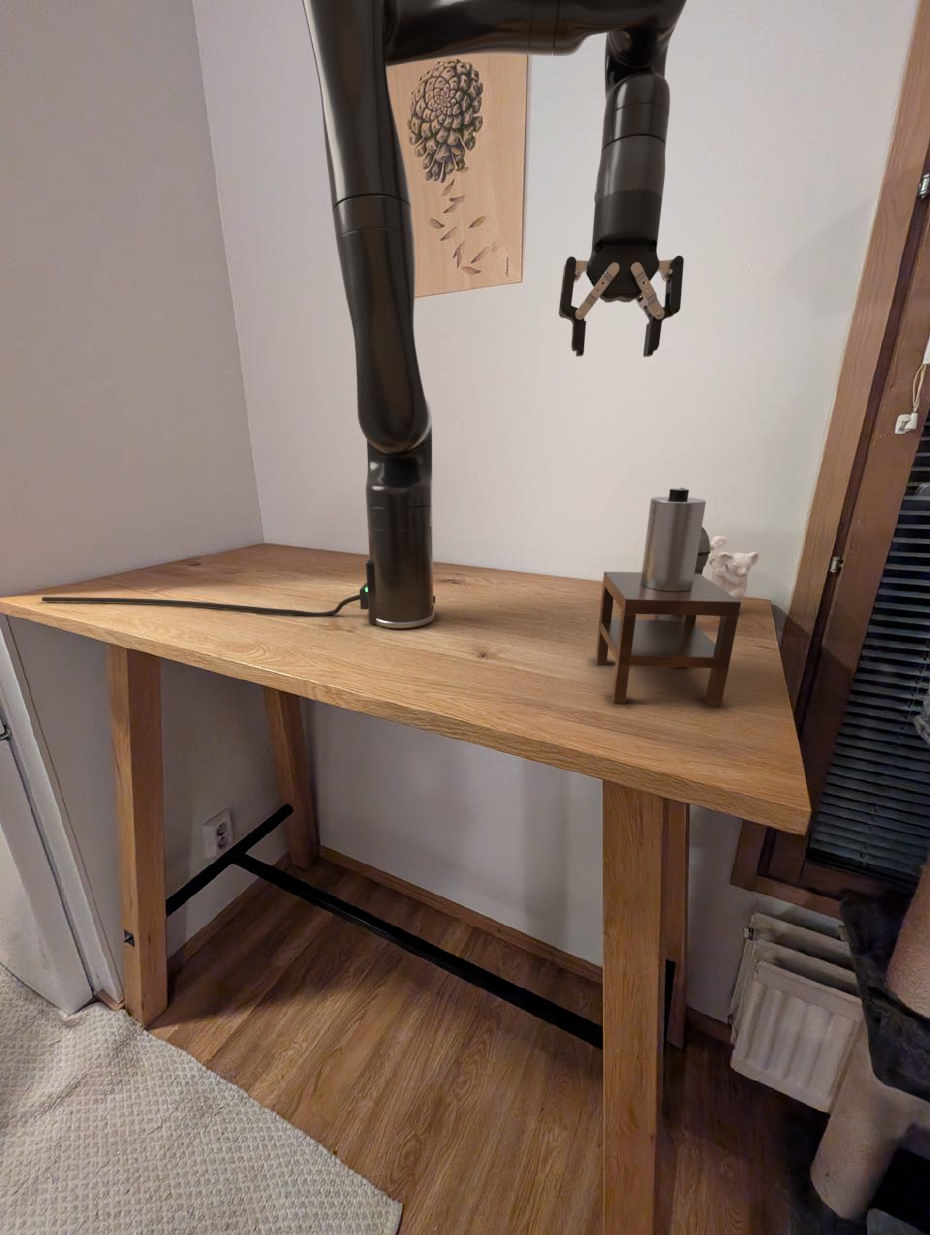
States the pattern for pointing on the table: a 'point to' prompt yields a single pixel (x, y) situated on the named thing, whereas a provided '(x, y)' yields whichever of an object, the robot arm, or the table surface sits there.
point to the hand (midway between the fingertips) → (613, 355)
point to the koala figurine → (730, 567)
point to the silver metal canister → (672, 541)
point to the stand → (665, 630)
